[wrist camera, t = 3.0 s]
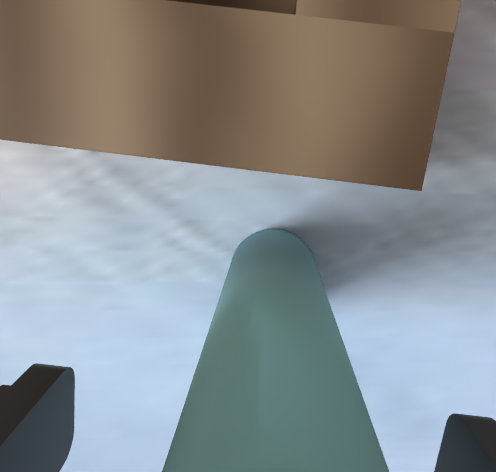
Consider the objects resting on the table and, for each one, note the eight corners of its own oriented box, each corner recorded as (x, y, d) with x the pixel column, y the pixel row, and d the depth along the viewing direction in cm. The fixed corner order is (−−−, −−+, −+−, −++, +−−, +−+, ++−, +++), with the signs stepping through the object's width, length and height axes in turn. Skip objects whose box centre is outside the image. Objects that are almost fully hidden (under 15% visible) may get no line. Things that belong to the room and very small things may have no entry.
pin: (321, 234, 20) (455, 491, 5) (308, 314, 21) (394, 722, 6) (235, 224, 20) (140, 446, 5) (226, 303, 21) (123, 679, 6)
